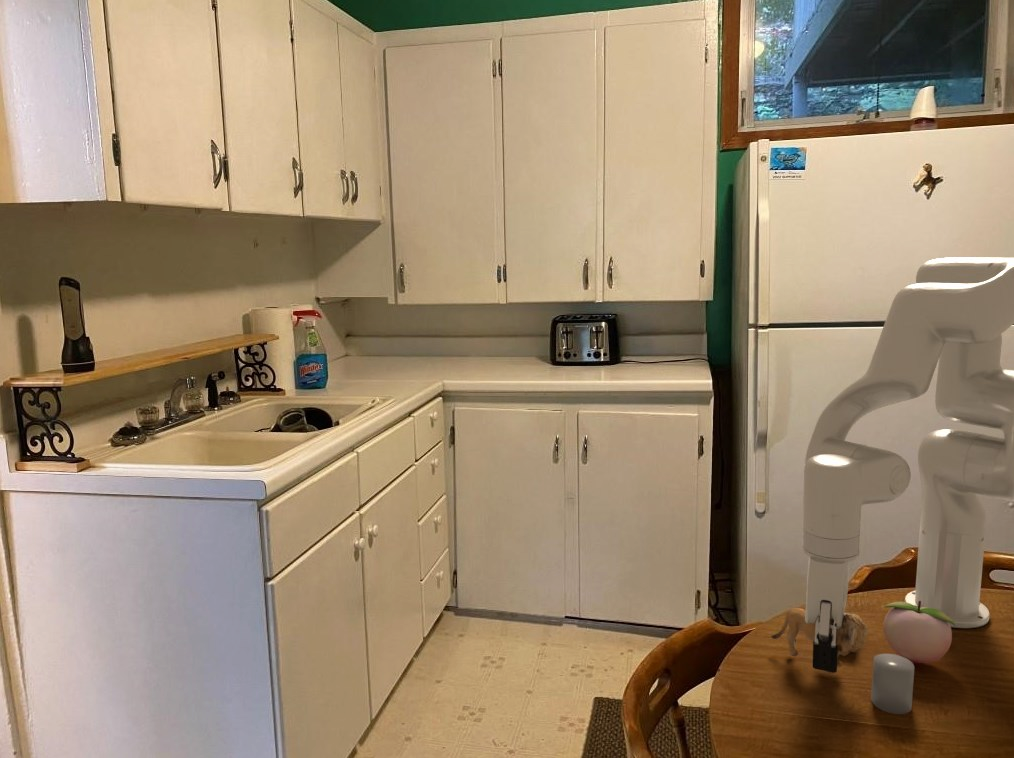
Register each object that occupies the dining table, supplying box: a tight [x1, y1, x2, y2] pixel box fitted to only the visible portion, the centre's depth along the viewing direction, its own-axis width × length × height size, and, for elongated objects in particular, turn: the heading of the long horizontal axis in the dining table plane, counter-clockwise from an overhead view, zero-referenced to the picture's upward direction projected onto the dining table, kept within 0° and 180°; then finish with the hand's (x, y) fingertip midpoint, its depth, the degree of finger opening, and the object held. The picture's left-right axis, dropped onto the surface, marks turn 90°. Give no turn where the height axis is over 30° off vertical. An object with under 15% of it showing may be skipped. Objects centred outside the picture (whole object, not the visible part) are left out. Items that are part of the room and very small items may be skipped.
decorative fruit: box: [882, 601, 955, 664], centre depth 115 cm, size 9×8×10 cm
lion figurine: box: [770, 607, 869, 676], centre depth 114 cm, size 15×5×9 cm, turn 40°
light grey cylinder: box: [870, 653, 915, 715], centre depth 106 cm, size 5×5×6 cm
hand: (826, 656), depth 113 cm, fingers closed on lion figurine, 6 cm apart
